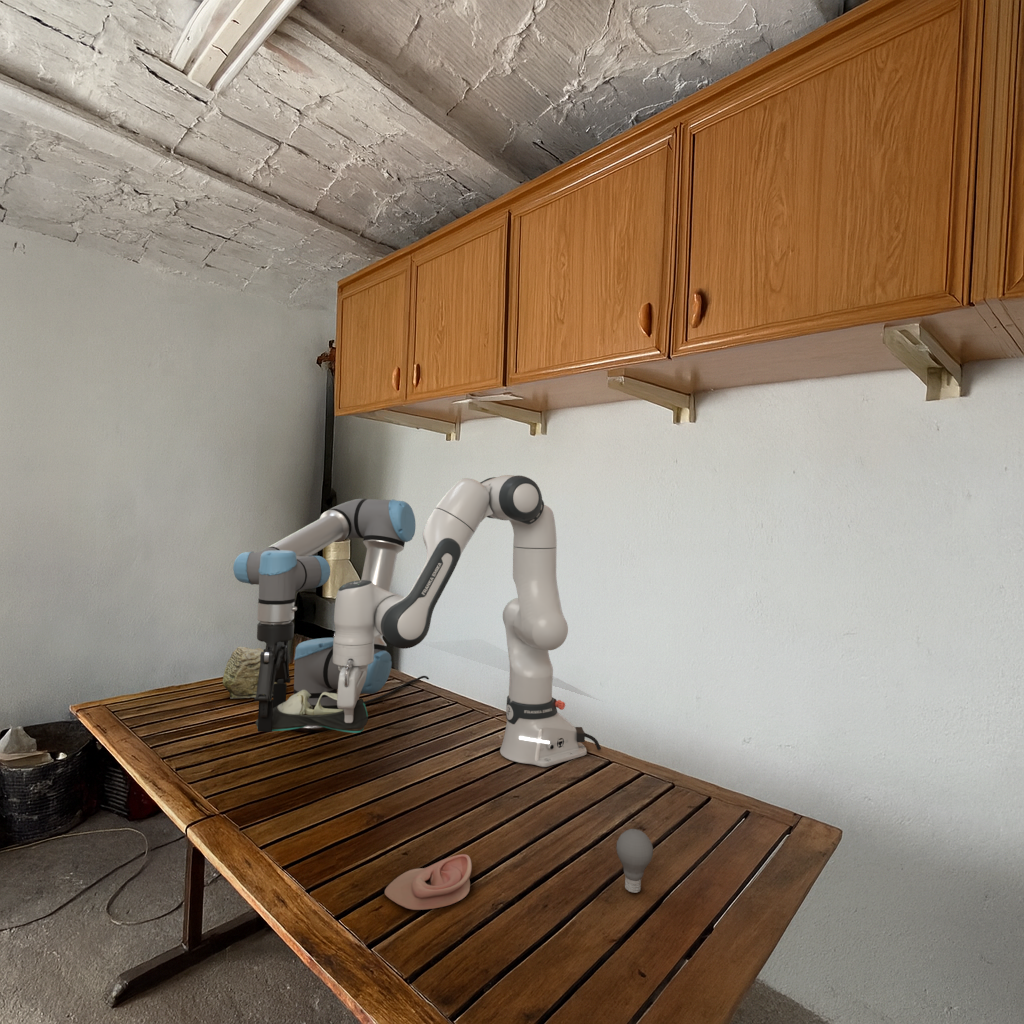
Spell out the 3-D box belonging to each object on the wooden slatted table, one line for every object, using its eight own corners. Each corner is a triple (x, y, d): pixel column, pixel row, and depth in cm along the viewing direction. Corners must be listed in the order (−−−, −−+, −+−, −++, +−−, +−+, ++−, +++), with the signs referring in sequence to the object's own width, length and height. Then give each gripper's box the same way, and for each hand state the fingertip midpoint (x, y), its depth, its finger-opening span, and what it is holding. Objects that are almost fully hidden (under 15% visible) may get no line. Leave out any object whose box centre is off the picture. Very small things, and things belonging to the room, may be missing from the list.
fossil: (218, 695, 195) (220, 647, 195) (278, 685, 208) (279, 640, 207) (228, 703, 189) (230, 653, 188) (289, 692, 201) (290, 645, 201)
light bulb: (610, 879, 108) (613, 822, 108) (644, 879, 109) (647, 822, 109) (619, 902, 102) (622, 840, 102) (655, 901, 103) (658, 840, 103)
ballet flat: (260, 720, 143) (262, 684, 143) (369, 721, 146) (371, 686, 146) (250, 734, 135) (252, 696, 134) (366, 735, 138) (368, 698, 138)
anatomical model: (377, 878, 99) (404, 840, 110) (376, 903, 99) (403, 863, 111) (458, 893, 97) (478, 852, 108) (457, 918, 97) (476, 875, 108)
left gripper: (280, 633, 127) (276, 741, 128) (305, 612, 150) (301, 704, 151) (241, 632, 126) (237, 741, 127) (272, 611, 149) (268, 703, 150)
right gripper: (362, 666, 130) (360, 733, 131) (372, 643, 151) (370, 701, 151) (330, 666, 130) (328, 733, 130) (345, 643, 150) (343, 701, 150)
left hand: (272, 721), depth 139 cm, fingers open, 11 cm apart
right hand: (351, 715), depth 141 cm, fingers closed on ballet flat, 6 cm apart
